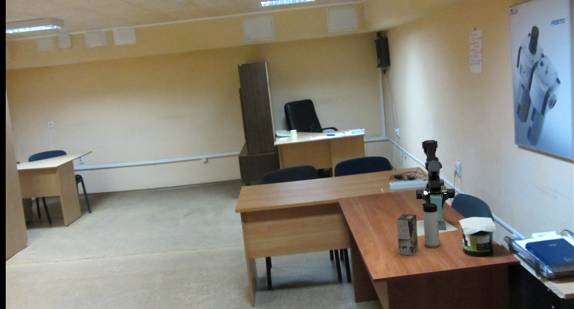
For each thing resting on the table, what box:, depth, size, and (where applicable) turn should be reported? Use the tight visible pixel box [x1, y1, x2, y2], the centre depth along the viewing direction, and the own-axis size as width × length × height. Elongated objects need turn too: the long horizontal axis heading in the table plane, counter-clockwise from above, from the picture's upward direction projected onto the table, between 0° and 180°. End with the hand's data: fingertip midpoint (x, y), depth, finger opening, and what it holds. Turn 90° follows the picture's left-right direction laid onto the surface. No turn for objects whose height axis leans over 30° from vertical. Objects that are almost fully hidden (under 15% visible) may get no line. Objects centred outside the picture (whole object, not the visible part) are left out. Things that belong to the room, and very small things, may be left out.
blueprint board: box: [416, 219, 459, 237], centre depth 233 cm, size 23×20×1 cm
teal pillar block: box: [430, 195, 443, 221], centre depth 229 cm, size 5×5×12 cm
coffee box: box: [396, 213, 419, 256], centre depth 207 cm, size 9×6×16 cm
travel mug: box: [421, 202, 440, 249], centre depth 210 cm, size 6×7×20 cm
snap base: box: [438, 220, 446, 230], centre depth 231 cm, size 8×8×2 cm
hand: (436, 209), depth 228 cm, fingers closed on teal pillar block, 5 cm apart
